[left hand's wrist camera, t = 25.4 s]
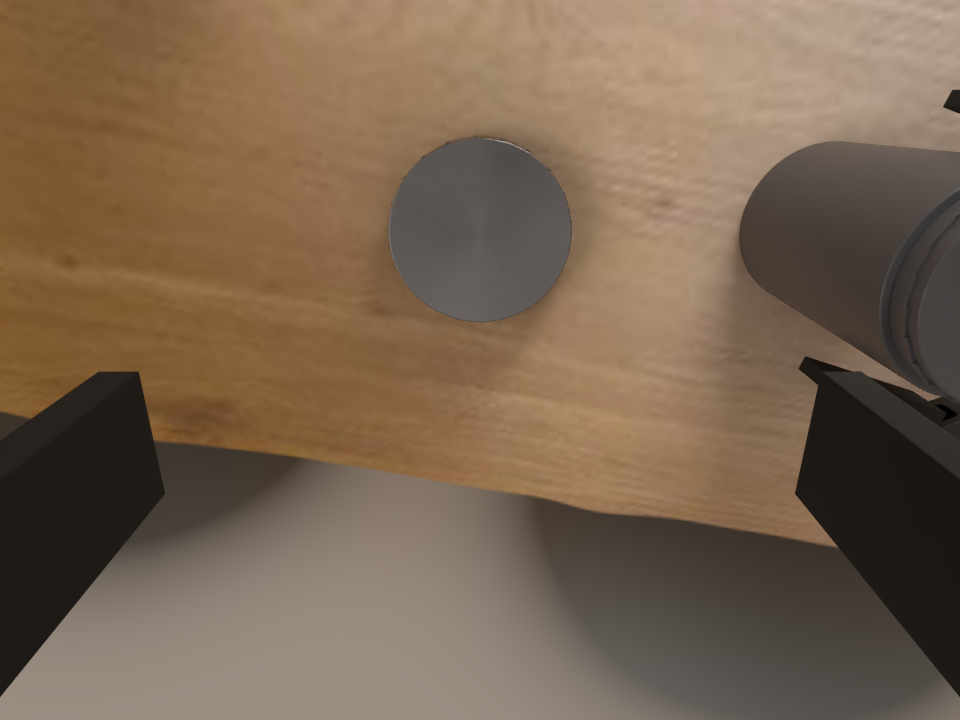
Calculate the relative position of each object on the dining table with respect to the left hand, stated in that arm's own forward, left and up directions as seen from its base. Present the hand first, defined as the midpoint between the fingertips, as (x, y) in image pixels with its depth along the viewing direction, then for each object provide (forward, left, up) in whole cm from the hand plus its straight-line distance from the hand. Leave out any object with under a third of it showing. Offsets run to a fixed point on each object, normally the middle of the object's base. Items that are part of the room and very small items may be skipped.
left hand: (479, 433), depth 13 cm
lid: (0, 0, -24) cm, 24 cm away
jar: (+18, +6, -26) cm, 32 cm away
